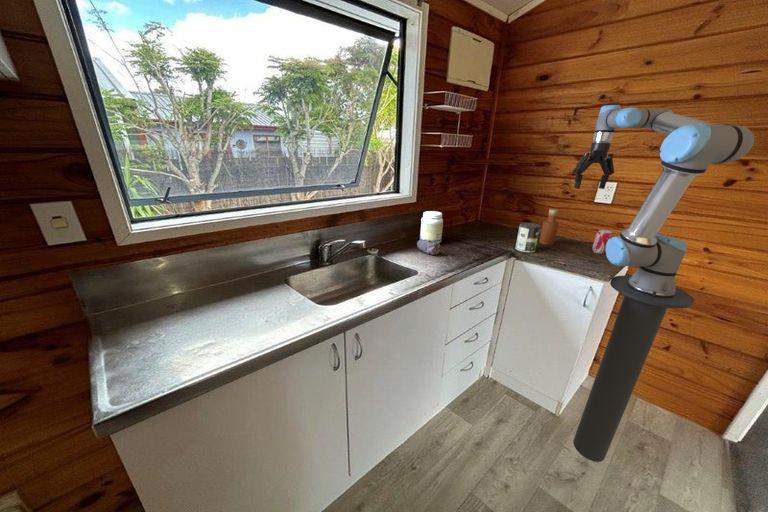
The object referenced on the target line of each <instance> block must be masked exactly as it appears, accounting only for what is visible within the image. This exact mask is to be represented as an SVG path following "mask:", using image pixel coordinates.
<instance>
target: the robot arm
mask: <svg viewBox="0 0 768 512" xmlns="http://www.w3.org/2000/svg"><path fill="white" fill-rule="evenodd" d="M616 129H648V130H651V131H654V132H657V133H660V134H662V135H666V137H665V138H664V140H663V142H662V143H661V145H660V148H659V151H660V152H659V157H660V159H661V162H660V166H661V168H662V171H661V173H660V175H659V176H658V178H657V179H656V181H655V182H654V184H653V186H652V188H651V189H650V191H649V193H648V194H647V197H646V198H645V200H644V201H643V203H642V205H641V206H640V207H639V209H638V212H637V213H636V215H635V217H634V219H633V220H632V221H631V223H630V225H629V226H628V227H626V228H625V227H624V228H623V229H622V230H621V231H620V233H619V235H618V236H612V238H610V239H609V240H608V241H607V244H606V253H605V256H606V258H607V260H608V261H609V263H611V264H612V265H613V266H617V267H618V266H619V267H624V268H625V267H638V269H637V270H636V271H635V272H634V273H633V274H632V275H631V276H632V277H631V278H630V279H629V281H628V286H629V287H631V288H632V289H634V290H636V291H638V292H641V293H644V294H647V295H651V296H653V297H663V298H670V297H673V296H674V294H675V291H676V287H677V286H676V276H677V273H678V271H679V269H680V266H681V264H682V262H683V259H684V257H685V254H686V253H687V248H688V242H686V241H685V240H683V239H680V238H676V237H674V236H670V235H666V234H661V233H659V231H660V230H661V228H662V227H663V225H664V224H665V222H666V221H667V219H668V218H669V216H670V215H671V213H672V212H673V211H674V209H675V207H676V206H677V205H678V203H679V202H680V200H681V198H682V197H683V195H684V194H685V192H686V191H687V189H688V188H689V186H690V185H691V184H692V182H693V180H694V179H695V177H698V176H700V175H704V174H705V173H706V171H707V170H708V168H709V167H710V166H711V165H724V164H730V163H732V162H736V161H738V160H739V159H742V158H743V157H744V156H745V155H746V154H748V153H749V152H750V150H752V148H753V146H754V145H755V135H754V133H753V131H751V130H750V128H748V127H745V126H743V125H736V124H735V125H734V124H730V123H722V124H715V123H713V122H708V121H706V120H701V119H697V118H694V117H689V116H686V115H682V114H678V113H675V112H673V110H671V109H666V108H638V107H626V108H622V106H621V105H620V104H607V105H602V106H601V108H600V110H599V113H598V115H597V120H596V125H595V129H594V133H593V137H592V143H590V144H591V145H590V149H589V150H590V152H583V154H582V156H581V158H580V160H579V161H578V163H577V164H576V166H575V167H574V169H573V171H572V173H574V175H575V178H574V186H573V188H574V189H578V190H579V189H580V188H581V185H582V180H583V178H584V177H583V176H584V173H585V171H586V170H588V168H590V166H591V165H593V164H599V166H600V168H601V170H602V172H603V174H602V175H601V178H600V181H599V185H598V189H601V190H605V188H606V186H607V182H608V180H609V178H610V176H612V175H613V174H615V167H614V159H613V158H614V153H612V152H611V153H610V152H609V151H610V149H611V145H612V144H611V142H613V138H614V134H615V131H616ZM608 152H609V153H608Z"/></svg>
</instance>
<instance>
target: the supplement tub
mask: <svg viewBox="0 0 768 512" xmlns="http://www.w3.org/2000/svg"><path fill="white" fill-rule="evenodd" d="M420 221H421V222H420V234H419V240H421V239H426V240H431V241H434V242H437V243H439V244H440V243H442V239H443V228H444V219H443V213H442V212H440V211H435V210H427V211H424V212H423V214H422V217H421V219H420Z"/></svg>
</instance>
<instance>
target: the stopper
mask: <svg viewBox="0 0 768 512" xmlns="http://www.w3.org/2000/svg"><path fill="white" fill-rule="evenodd" d="M558 214H559V209H558V208H549V209H548V216H549V215H553V216H557V217H558Z"/></svg>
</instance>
